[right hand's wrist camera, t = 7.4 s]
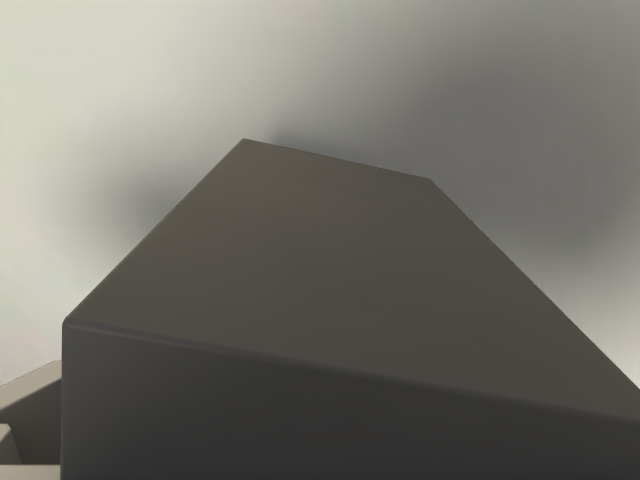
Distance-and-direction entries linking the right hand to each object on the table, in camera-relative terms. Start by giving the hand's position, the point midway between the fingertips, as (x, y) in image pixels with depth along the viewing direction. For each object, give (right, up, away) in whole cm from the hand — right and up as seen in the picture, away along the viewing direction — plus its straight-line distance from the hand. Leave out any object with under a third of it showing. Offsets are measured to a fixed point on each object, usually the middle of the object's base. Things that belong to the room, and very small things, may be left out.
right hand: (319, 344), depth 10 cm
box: (-2, -8, +9) cm, 12 cm away
